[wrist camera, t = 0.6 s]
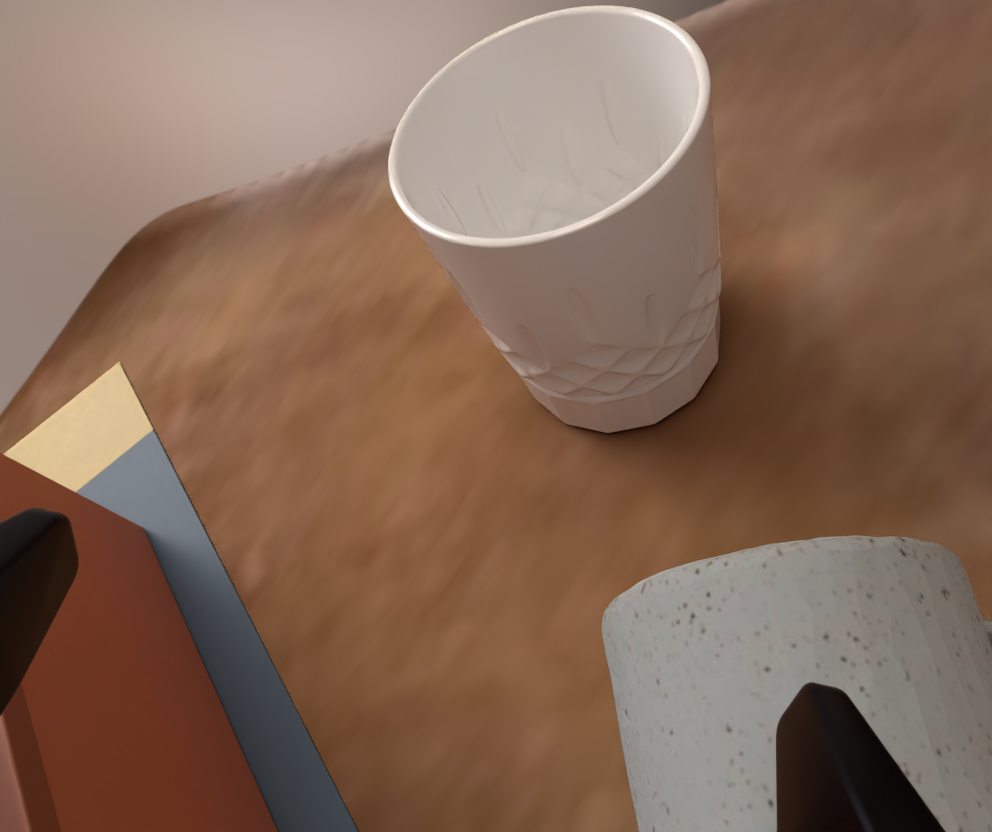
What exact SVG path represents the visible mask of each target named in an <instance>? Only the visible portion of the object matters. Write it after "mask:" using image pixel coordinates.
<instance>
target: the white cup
mask: <svg viewBox="0 0 992 832" xmlns="http://www.w3.org/2000/svg"><path fill="white" fill-rule="evenodd" d="M388 175H389V182H390V186H391V190H392V193H393V195H394V198H395V200H396V202H397V203H398V205H399V207H400V208H401V210H402V211H403V213H404V214H405V216H406V217H407V218H408V220H409V221H410V223H411V224H412V226H413V227H414V229H415V230H416V231H417V233H418V234H419V236H420V237H421V239H422V240H423V242H424V243H425V245H426V246H427V247H428V249H429V250H430V252H431V253H432V255H433V256H434V258H435V259H436V261H437V262H438V264H439V265H440V267H441V268H442V270H443V271H444V273H445V274H446V276H447V277H448V278H449V280H450V281H451V283H452V284H453V286H454V287H455V289H456V290H457V292H458V293H459V295H460V296H461V298H462V299H463V301H464V302H465V304H466V305H467V307H468V308H469V310H470V311H471V313H472V314H473V316H474V317H475V318H476V320H477V321H478V322H479V324H480V325H481V326H482V327H483V329H484V330H485V331H486V332H487V334H488V335H489V336H490V338H491V339H492V341H493V343H494V344H495V346H496V347H497V349H498V350H499V351H500V353H501V354H502V355H503V356H504V358H505V359H506V360H507V361H508V363H509V364H510V365H511V366H512V367H513V368H514V369H515V370H516V371H517V373H518V374H519V376H520V377H521V379H522V380H523V382H524V383H525V385H526V386H527V388H528V389H529V391H530V392H531V394H532V395H533V397H534V398H535V399H536V400H537V401H538V402H539V403H540V404H542V405H543V406H544V407H545V408H547V409H548V410H549V411H550V412H551V413H553V414H554V415H555V416H556V417H557V418H559V419H560V420H561V421H562V422H563V423H565V424H568V425H573V426H577V427H582V428H586V429H591V430H596V431H600V432H605V433H612V432H617V431H622V430H627V429H632V428H637V427H643V426H648V425H653V424H656V423H657V422H659V421H660V420H662V419H663V418H665V417H666V416H668V415H669V414H671V413H673V412H674V411H676V410H677V409H679V408H680V407H682V406H683V405H685V404H686V403H688V402H689V401H691V400H693V399H694V398H695V397H696V395H697V393H698V392H699V390H700V389H701V387H702V386H703V384H704V382H705V381H706V379H707V378H708V376H709V375H710V373H711V371H712V370H713V368H714V367H715V365H716V364H717V362H718V356H719V339H720V307H719V296H720V293H721V268H720V260H721V254H720V228H719V212H718V197H717V182H716V167H715V152H714V135H713V118H712V101H711V83H710V74H709V69H708V65H707V62H706V59H705V57H704V55H703V53H702V51H701V49H700V48H699V46H698V45H697V43H696V42H695V41H694V39H693V38H692V37H691V36H690V35H689V34H688V33H687V32H686V31H684V30H683V29H682V28H681V27H679V26H678V25H676V24H675V23H673V22H672V21H670V20H668V19H666V18H664V17H661V16H659V15H657V14H654V13H651V12H648V11H644V10H640V9H635V8H630V7H621V6H584V7H576V8H569V9H563V10H558V11H554V12H550V13H546V14H543V15H539V16H536V17H533V18H529V19H527V20H524V21H521V22H519V23H516V24H514V25H511V26H509V27H507V28H504V29H502V30H500V31H498V32H496V33H494V34H492V35H490V36H488V37H487V38H485V39H483V40H481V41H480V42H478V43H476V44H475V45H473V46H472V47H470V48H468V49H467V50H465V51H464V52H463V53H461V54H460V55H458V56H457V57H456V58H454V59H453V60H452V61H451V62H449V63H448V64H447V65H446V66H445V67H443V68H442V69H441V70H440V71H439V72H438V73H437V74H436V75H435V76H434V77H433V78H432V79H431V80H430V81H429V82H428V83H427V84H426V85H425V86H424V87H423V89H422V90H421V91H420V92H419V93H418V94H417V96H416V97H415V98H414V100H413V101H412V102H411V104H410V105H409V107H408V108H407V110H406V112H405V113H404V115H403V117H402V119H401V121H400V123H399V125H398V127H397V129H396V132H395V134H394V137H393V140H392V144H391V148H390V153H389V160H388Z"/></svg>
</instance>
